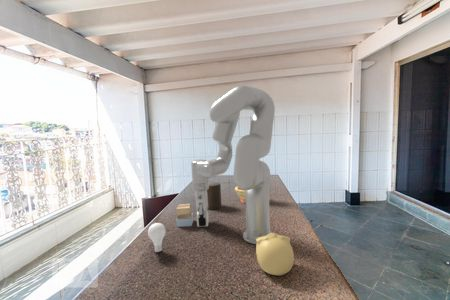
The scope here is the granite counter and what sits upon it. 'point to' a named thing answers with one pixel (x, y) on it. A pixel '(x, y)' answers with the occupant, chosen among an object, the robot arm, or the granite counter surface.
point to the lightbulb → (157, 235)
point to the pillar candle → (214, 195)
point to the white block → (205, 216)
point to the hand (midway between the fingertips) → (202, 222)
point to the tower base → (185, 221)
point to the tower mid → (183, 211)
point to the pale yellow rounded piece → (275, 254)
